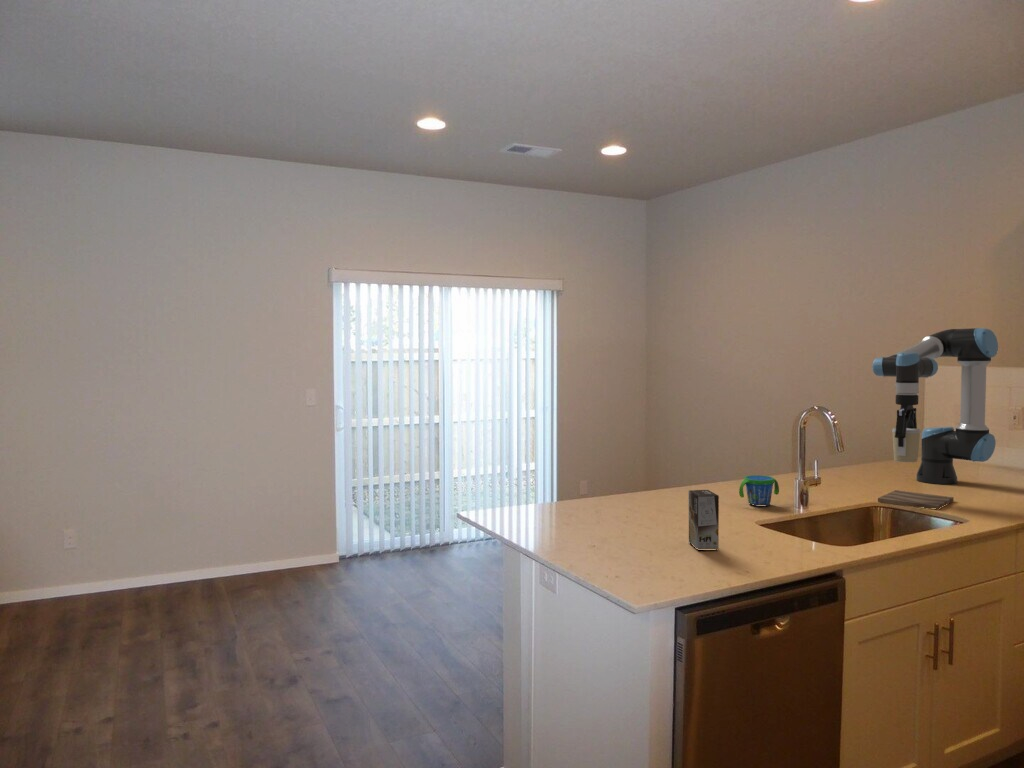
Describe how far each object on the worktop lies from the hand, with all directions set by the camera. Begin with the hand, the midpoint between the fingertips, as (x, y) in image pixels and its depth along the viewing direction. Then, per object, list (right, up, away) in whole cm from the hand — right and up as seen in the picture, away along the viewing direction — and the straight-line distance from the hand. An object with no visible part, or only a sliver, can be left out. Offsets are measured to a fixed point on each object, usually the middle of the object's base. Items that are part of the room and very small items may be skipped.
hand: (905, 454), depth 273 cm
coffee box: (-92, -22, -60) cm, 112 cm away
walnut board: (+3, -18, -2) cm, 18 cm away
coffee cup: (0, -3, 0) cm, 3 cm away
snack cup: (-57, -18, -5) cm, 60 cm away
